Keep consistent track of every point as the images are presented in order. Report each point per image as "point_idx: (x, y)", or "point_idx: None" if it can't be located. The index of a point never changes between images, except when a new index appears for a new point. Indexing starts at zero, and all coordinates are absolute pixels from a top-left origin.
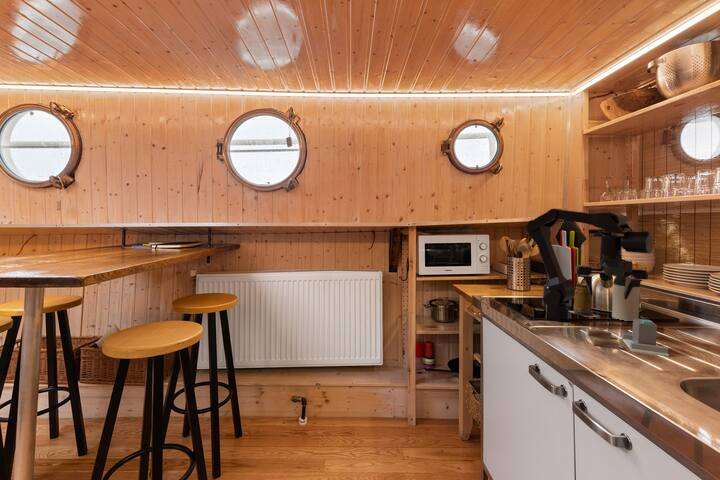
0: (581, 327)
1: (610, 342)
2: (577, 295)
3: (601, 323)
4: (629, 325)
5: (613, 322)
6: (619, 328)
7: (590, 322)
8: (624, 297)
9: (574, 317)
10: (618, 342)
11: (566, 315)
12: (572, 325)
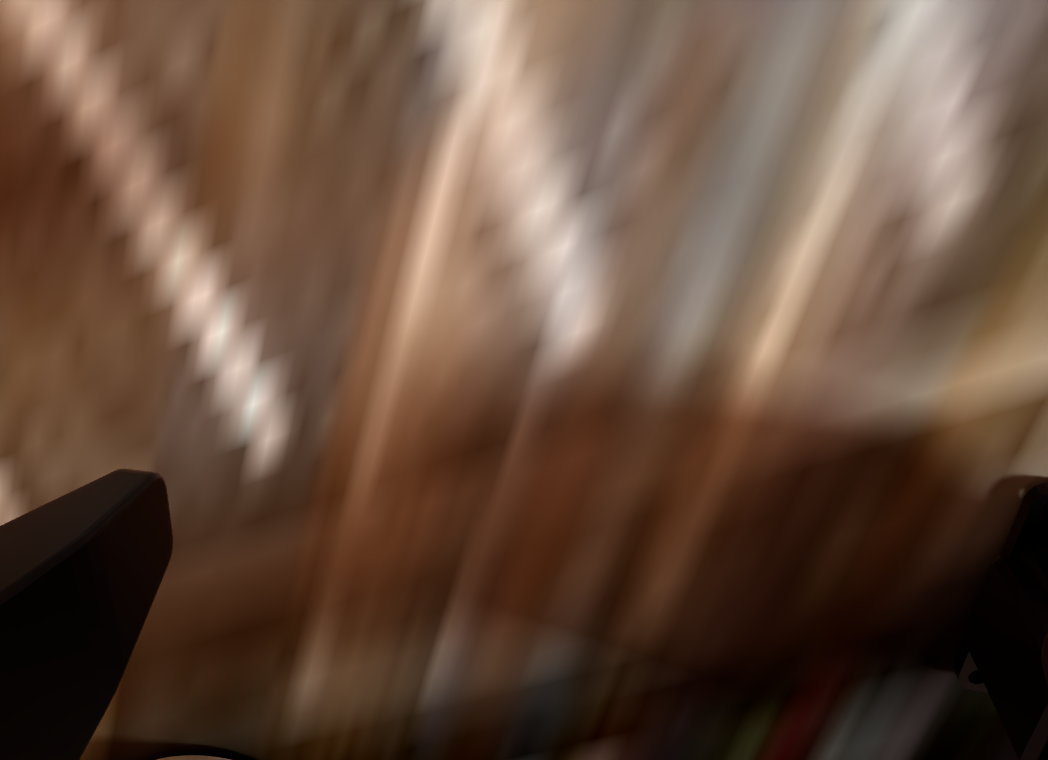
0: (878, 356)
1: None
2: None
3: (525, 615)
4: (224, 630)
5: (373, 689)
6: (364, 478)
7: (651, 618)
8: (153, 554)
9: (778, 756)
10: None
11: (1041, 605)
12: (976, 413)
